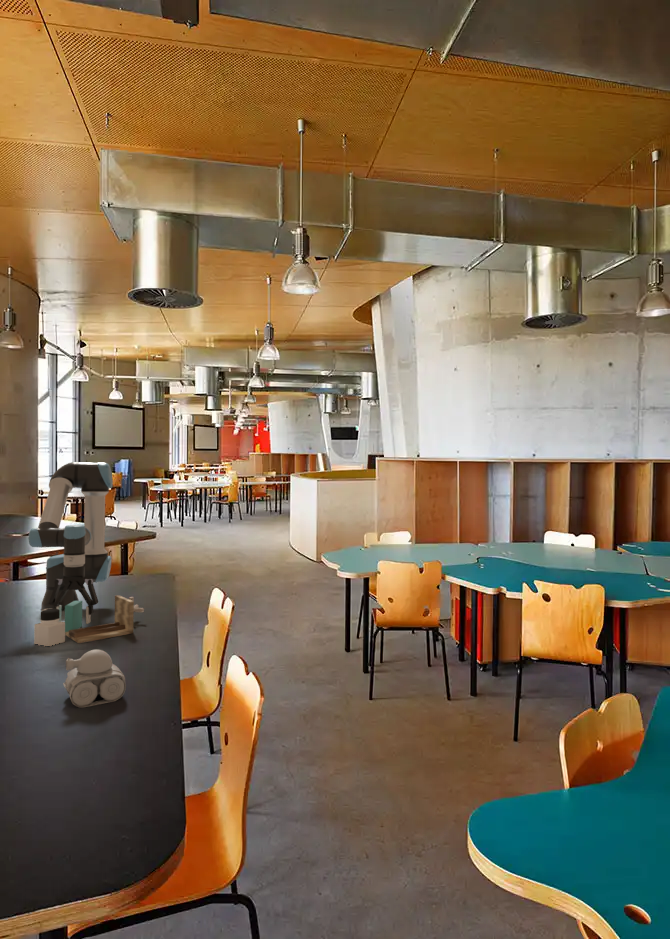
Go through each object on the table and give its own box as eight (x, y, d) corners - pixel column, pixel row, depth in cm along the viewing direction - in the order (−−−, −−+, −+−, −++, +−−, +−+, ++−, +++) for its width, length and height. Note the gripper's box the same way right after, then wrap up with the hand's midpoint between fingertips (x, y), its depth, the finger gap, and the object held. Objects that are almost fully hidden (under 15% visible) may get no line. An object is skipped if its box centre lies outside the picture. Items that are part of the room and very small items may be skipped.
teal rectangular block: (64, 632, 218) (64, 606, 218) (74, 626, 227) (74, 600, 227) (72, 632, 218) (73, 606, 219) (82, 626, 227) (82, 600, 228)
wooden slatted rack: (65, 634, 215) (65, 602, 215) (118, 625, 229) (118, 595, 229) (78, 643, 205) (78, 609, 205) (133, 633, 218) (133, 601, 218)
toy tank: (66, 711, 148) (67, 660, 148) (60, 697, 157) (61, 649, 157) (127, 699, 156) (128, 651, 156) (118, 686, 165) (119, 641, 165)
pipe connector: (148, 619, 239) (148, 595, 239) (137, 625, 229) (137, 600, 229) (124, 618, 240) (125, 594, 240) (113, 624, 230) (113, 599, 230)
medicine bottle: (65, 642, 206) (65, 608, 206) (47, 647, 200) (48, 612, 200) (51, 639, 209) (51, 606, 209) (33, 644, 203) (34, 610, 203)
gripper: (39, 566, 219) (38, 625, 219) (101, 567, 220) (100, 625, 220) (48, 563, 226) (47, 620, 226) (108, 563, 227) (107, 620, 227)
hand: (73, 622), depth 223 cm, fingers open, 10 cm apart
